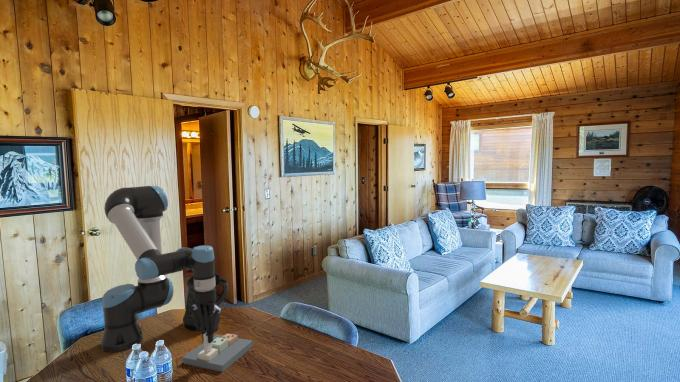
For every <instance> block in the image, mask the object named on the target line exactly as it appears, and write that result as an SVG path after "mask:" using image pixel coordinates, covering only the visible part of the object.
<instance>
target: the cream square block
mask: <svg viewBox="0 0 680 382" xmlns="http://www.w3.org/2000/svg"><path fill="white" fill-rule="evenodd" d="M216 356H218V349H215V348H212V350H210V351H209V352H204V350H202V351H201V352H200V353H198V359H199V360H204V361H209V362H210V361H211V360H212V359H214V358H215V357H216Z"/></svg>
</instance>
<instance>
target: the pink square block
mask: <svg viewBox="0 0 680 382" xmlns="http://www.w3.org/2000/svg"><path fill="white" fill-rule="evenodd" d="M221 338H224V339H228V345H229V346H230V345H232V344H233V343H234V342H236V341H237V340H238V338H239V337H238V334H234V333H227V332H226V334H224V335H223V337H221Z"/></svg>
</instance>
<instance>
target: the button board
mask: <svg viewBox="0 0 680 382" xmlns="http://www.w3.org/2000/svg"><path fill="white" fill-rule="evenodd" d="M223 336H224V335H223V334H217V333H215V334H213V340H214V339H216V338H217V337H219V338H221V337H223ZM253 347H254V341H253V340H252V339H251V340H250V339H245V338H240V337H238V340H237V341H236V342H234V343H233V344H232V345H230V346H229V345H228V348H227V349H225V350H224V351H223V352H221V353H218V356H216V357H215V358H214V359H212V360H211V361H210V362H209V361H204V360H199V359H198V353H200V352H201V351H202V350H204V342H203V343H201V344H199V345H198V346H196V347H195V348H193V349H192V350H191V351H190V352H188V353H186V354H185V355H183V356H182V358H181V359H182V364H183V363H184V365H189V366H193V367H198V368H202V369H207V370H211V371H216V372H220V373H224V371H226V370H227V369H228V368H230V367H231V366H232V365H233V364H234V363H235V362H237V361H238V360H239V359H240V358H242V356H244V355H245V354H246V353H247V352H248V351H249V350H250V349H252V348H253Z"/></svg>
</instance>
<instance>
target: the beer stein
mask: <svg viewBox="0 0 680 382" xmlns="http://www.w3.org/2000/svg"><path fill="white" fill-rule="evenodd" d="M215 282H216V286H218V285H220V286H222V292H221V293H220V295H219V296H218V298H217V297H216V298H217V299H216V298H215V301H216V304H217V305H216V306H218V307H219V305H220V304H221V303H222V302H223V301H224V300H225V298H226V296H227V294H228V291H229V284H228V280H226V279H225V278H224V277H220V274H219V273H218V272H216V271H215ZM186 285H187V287H188V290H187V295H186V297H187V299H186V307H185V311H184V315H183V317H182V323H183V327H184V328H183V329H185V330H187V331H190V332H198V331H197V329H196V325H195V321H194V317H193V313H192V311H191V309H190V306H192V305H194V304H195V302H196V301H195V299H194V291H195V289H194V280H193V275H192V276H190V277H189V278H188V279H187V281H186ZM213 311H214V310H213ZM220 321H221V313H220V318H219V323H220Z"/></svg>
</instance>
